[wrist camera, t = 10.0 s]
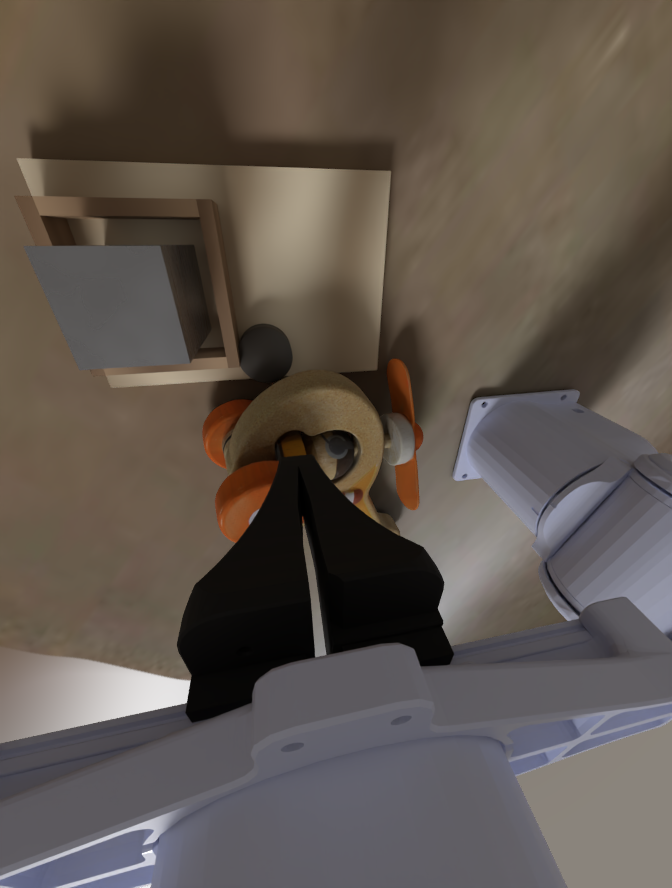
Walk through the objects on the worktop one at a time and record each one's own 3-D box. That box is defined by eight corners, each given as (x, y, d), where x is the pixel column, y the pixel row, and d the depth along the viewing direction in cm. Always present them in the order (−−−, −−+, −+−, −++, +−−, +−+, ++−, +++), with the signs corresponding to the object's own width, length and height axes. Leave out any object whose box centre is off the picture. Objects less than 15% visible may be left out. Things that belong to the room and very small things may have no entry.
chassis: (384, 174, 16) (406, 162, 14) (372, 365, 22) (386, 381, 19) (31, 163, 14) (-21, 145, 11) (117, 381, 19) (95, 402, 17)
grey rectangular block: (193, 244, 15) (160, 245, 10) (211, 329, 18) (190, 363, 13) (104, 244, 15) (23, 245, 10) (134, 332, 17) (79, 370, 12)
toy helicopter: (172, 413, 19) (361, 293, 20) (315, 545, 34) (421, 474, 34) (178, 512, 13) (447, 337, 14) (348, 619, 28) (476, 533, 28)
